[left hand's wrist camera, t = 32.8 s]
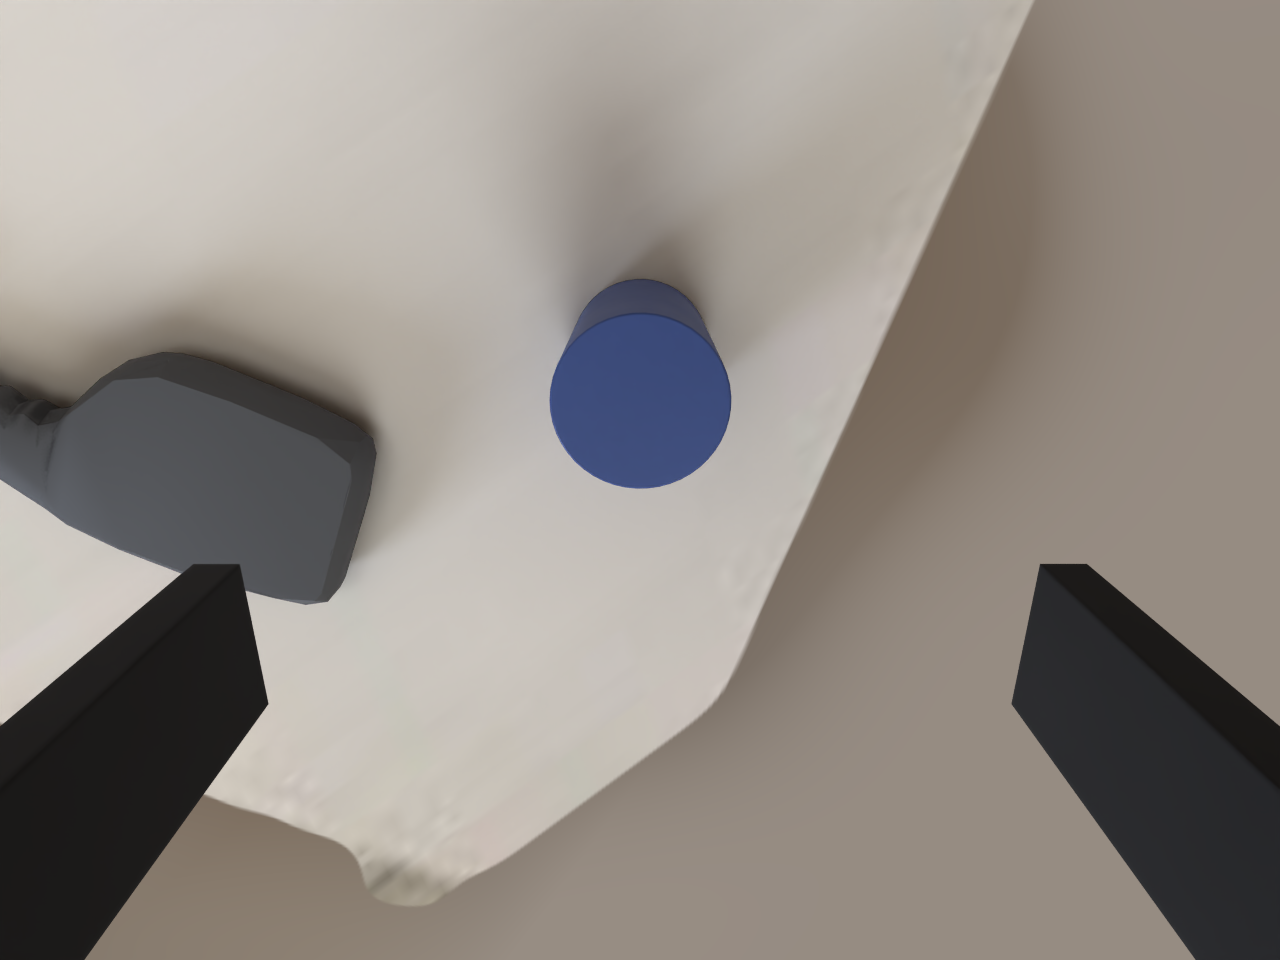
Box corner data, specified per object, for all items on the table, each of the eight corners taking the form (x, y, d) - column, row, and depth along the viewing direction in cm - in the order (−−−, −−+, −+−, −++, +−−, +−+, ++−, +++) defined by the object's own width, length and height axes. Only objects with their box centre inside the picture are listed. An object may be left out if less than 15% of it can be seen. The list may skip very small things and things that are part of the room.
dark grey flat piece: (341, 602, 41) (-142, 439, 38) (395, 418, 37) (-134, 223, 35) (319, 631, 38) (-204, 458, 36) (374, 436, 35) (-203, 226, 32)
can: (546, 355, 37) (513, 415, 27) (631, 249, 35) (628, 272, 25) (648, 438, 38) (650, 522, 29) (735, 339, 36) (769, 393, 27)
